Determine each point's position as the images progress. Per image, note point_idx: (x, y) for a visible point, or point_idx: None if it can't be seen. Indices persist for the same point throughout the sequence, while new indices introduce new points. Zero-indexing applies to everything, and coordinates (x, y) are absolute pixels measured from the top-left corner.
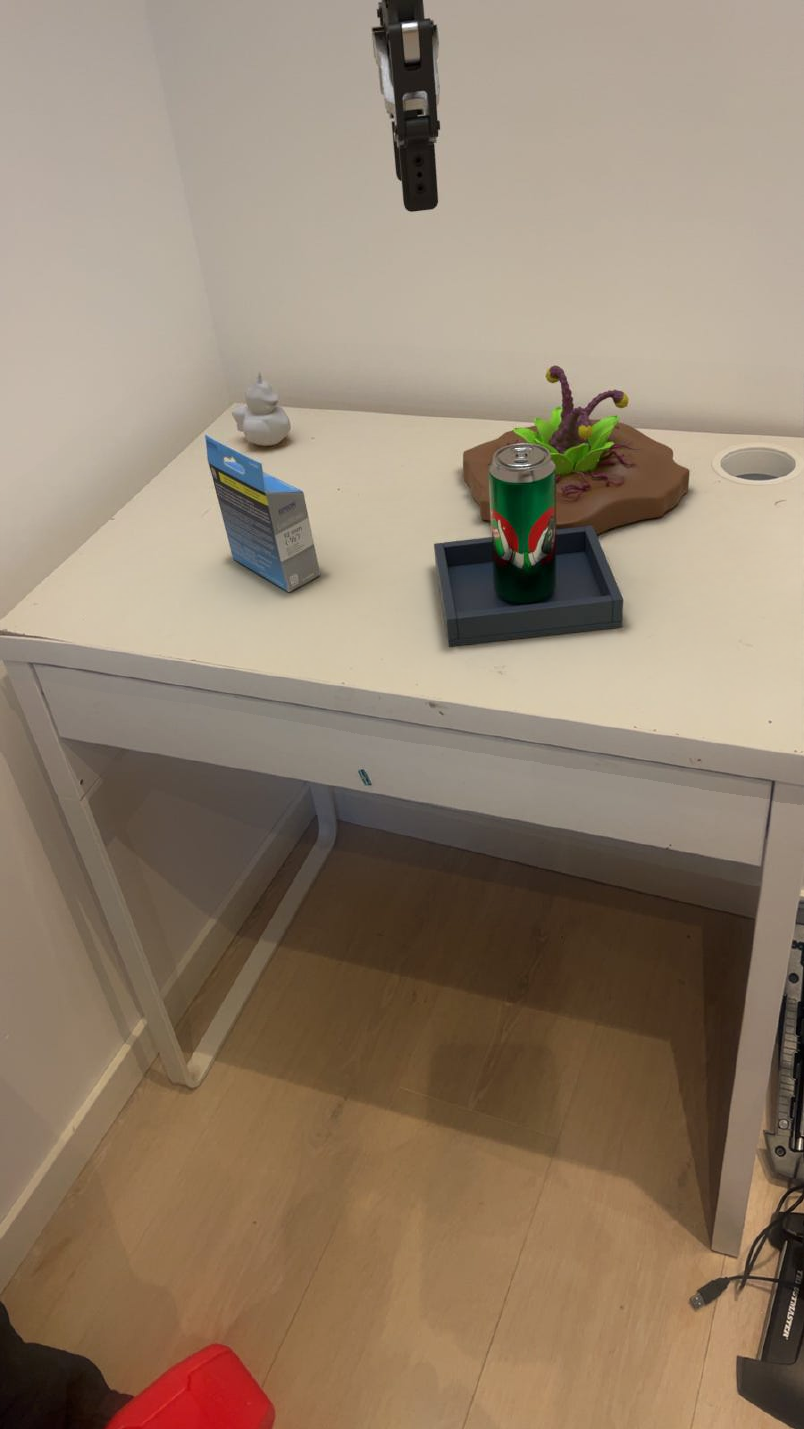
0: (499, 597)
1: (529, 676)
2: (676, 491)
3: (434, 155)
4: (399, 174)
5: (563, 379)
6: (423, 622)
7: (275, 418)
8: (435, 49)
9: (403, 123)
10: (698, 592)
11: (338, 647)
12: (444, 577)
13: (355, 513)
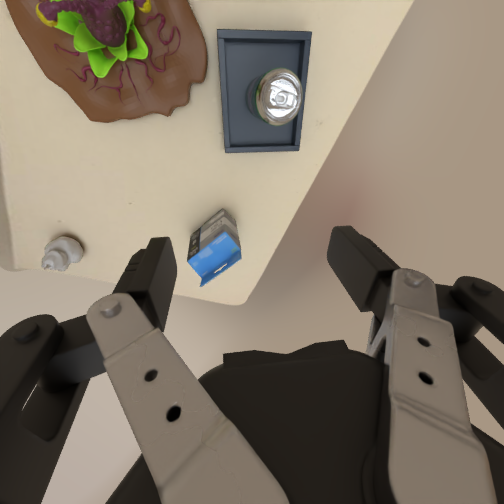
0: None
1: (328, 107)
2: None
3: (384, 259)
4: (175, 273)
5: (67, 5)
6: (271, 159)
7: (67, 247)
8: (473, 435)
9: (473, 337)
10: None
11: (281, 198)
12: (261, 149)
13: (159, 193)
